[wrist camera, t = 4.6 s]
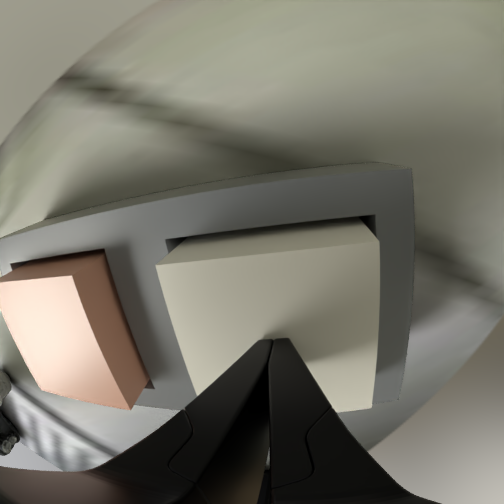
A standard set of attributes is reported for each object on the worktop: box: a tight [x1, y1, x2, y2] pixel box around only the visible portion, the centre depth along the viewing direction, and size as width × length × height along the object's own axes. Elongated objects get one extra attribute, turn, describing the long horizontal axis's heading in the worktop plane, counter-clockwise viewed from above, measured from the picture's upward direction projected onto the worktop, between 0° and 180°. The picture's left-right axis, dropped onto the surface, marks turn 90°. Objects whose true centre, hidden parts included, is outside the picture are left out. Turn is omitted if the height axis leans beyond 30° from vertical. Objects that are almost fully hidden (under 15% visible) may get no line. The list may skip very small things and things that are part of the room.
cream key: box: [155, 216, 380, 412], centre depth 10 cm, size 6×6×4 cm
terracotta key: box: [0, 248, 150, 410], centre depth 12 cm, size 6×6×4 cm
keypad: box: [0, 162, 415, 410], centre depth 12 cm, size 9×17×4 cm, turn 100°
